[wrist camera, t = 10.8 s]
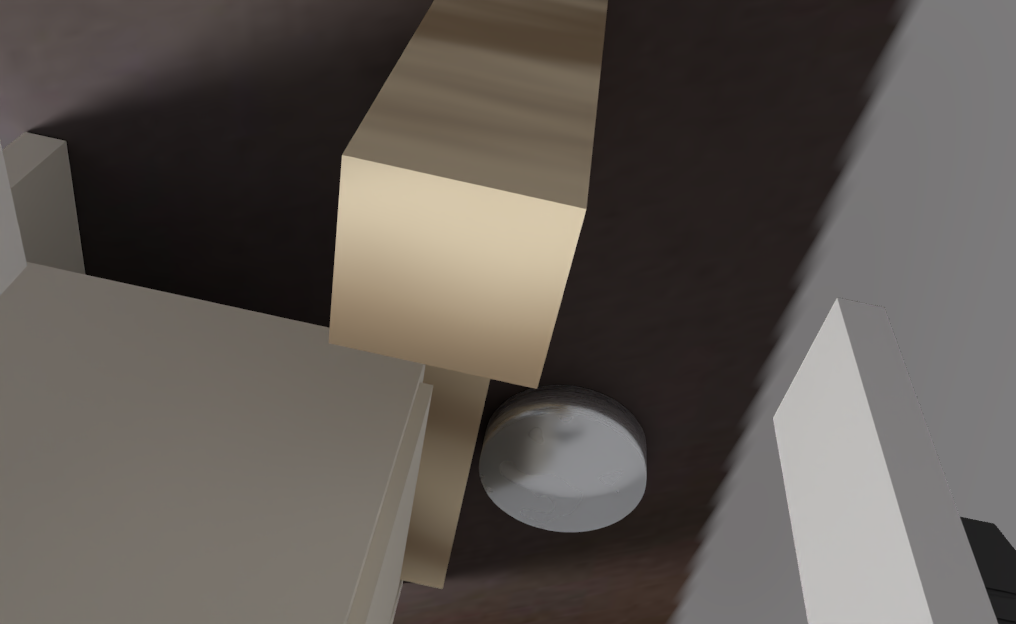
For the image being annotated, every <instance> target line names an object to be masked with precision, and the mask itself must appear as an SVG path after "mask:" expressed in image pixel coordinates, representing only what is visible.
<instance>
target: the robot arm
mask: <svg viewBox="0 0 1016 624" xmlns="http://www.w3.org/2000/svg"><path fill="white" fill-rule="evenodd" d="M26 267H27V262H26V258H25V253H24V248H23V244H22V239H21V234H20V230H19V225H18V221H17V216H16V211H15V207H14V202H13V198H12V193H11V188H10V184H9V179H8V175H7V170H6V165H5V161H4V156H3V151H2V147H1V142H0V295H1V294H2V293H3V292H4V291H5V290H6V289H7V288H8V286H9V285H10V284H11V283H12V282H13V281H14V280H15V279H16V278H17V277H18V275H19V274H20V273H21V272H22V271H23V270H24V269H25V268H26ZM773 422H774V428H775V434H776V439H777V445H778V451H779V457H780V463H781V468H782V474H783V480H784V485H785V492H786V497H787V503H788V508H789V514H790V520H791V526H792V532H793V537H794V543H795V549H796V555H797V561H798V567H799V572H800V578H801V584H802V590H803V595H804V601H805V607H806V613H807V619H808V624H1016V550H1015V549H1014V548H1013V547H1012V546H1011V544H1010V543H1009V542H1008V540H1007V539H1006V538H1005V537H1004V535H1003V534H1002V533H1001V532H1000V530H999V529H998V528H997V526H996V525H995V524H993V523H988V522H982V521H978V520H973V519H968V518H963V517H960V516H959V513H958V510H957V507H956V505H955V502H954V499H953V496H952V493H951V491H950V488H949V485H948V482H947V480H946V477H945V474H944V471H943V468H942V466H941V463H940V460H939V457H938V454H937V452H936V449H935V446H934V443H933V441H932V438H931V435H930V432H929V429H928V426H927V424H926V421H925V418H924V416H923V413H922V410H921V407H920V405H919V402H918V399H917V396H916V393H915V390H914V387H913V385H912V382H911V379H910V376H909V373H908V371H907V368H906V365H905V362H904V359H903V357H902V354H901V351H900V348H899V345H898V343H897V340H896V337H895V334H894V332H893V329H892V326H891V323H890V321H889V318H888V315H887V312H886V309H885V307H881V306H876V305H872V304H867V303H862V302H857V301H852V300H848V299H843V298H838V297H837V298H836V301H835V302H834V304H833V306H832V308H831V310H830V312H829V314H828V315H827V317H826V319H825V321H824V323H823V325H822V326H821V328H820V330H819V332H818V334H817V336H816V338H815V340H814V342H813V343H812V345H811V347H810V349H809V351H808V353H807V355H806V357H805V359H804V361H803V362H802V364H801V366H800V368H799V370H798V372H797V374H796V376H795V377H794V379H793V381H792V383H791V385H790V387H789V389H788V390H787V392H786V394H785V396H784V398H783V400H782V402H781V404H780V406H779V407H778V409H777V411H776V413H775V415H774V417H773Z"/></svg>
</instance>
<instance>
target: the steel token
mask: <svg viewBox="0 0 1016 624" xmlns="http://www.w3.org/2000/svg"><path fill="white" fill-rule="evenodd" d="M479 475H480V479H481V483H482V485H483V487H484V489H485V491H486V493H487V494H488V496H489V497H490V498H491V500H492V501H493V502H494V503H495V504H496V505H497V506H498V507H499V508H500V509H502V510H503V511H504V512H506V513H507V514H508V515H510V516H512V517H513V518H515V519H517V520H519V521H521V522H523V523H526V524H528V525H531V526H534V527H537V528H541V529H545V530H550V531H556V532H584V531H591V530H596V529H600V528H603V527H606V526H609V525H611V524H614V523H616V522H618V521H619V520H621V519H623V518H624V517H625V516H627V515H628V514H629V513H631V512H632V511H633V510H634V509H635V508H636V506H637V505H638V504H639V502H640V501H641V499H642V497H643V495H644V492H645V488H646V480H647V446H646V438H645V435H644V431H643V429H642V427H641V425H640V423H639V422H638V421H637V419H636V418H635V416H634V415H633V414H632V413H631V412H630V411H629V410H628V409H627V408H626V407H624V406H623V405H622V404H621V403H619V402H617V401H616V400H614V399H613V398H611V397H609V396H607V395H605V394H603V393H600V392H597V391H594V390H591V389H588V388H584V387H578V386H572V385H547V386H540V387H538V388H537V389H535V388H532V389H528V390H525V391H523V392H520V393H518V394H516V395H514V396H512V397H510V398H509V399H507V400H506V401H505V402H503V403H502V404H501V405H500V406H499V407H498V408H497V409H496V410H495V412H494V413H493V414H492V416H491V418H490V420H489V422H488V424H487V428H486V432H485V436H484V441H483V446H482V451H481V456H480V461H479Z"/></svg>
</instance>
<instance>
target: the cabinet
mask: <svg viewBox="0 0 1016 624" xmlns="http://www.w3.org/2000/svg"><path fill="white" fill-rule="evenodd" d="M2 151H3V156H4V161H5V165H6V170H7V175H8V179H9V184H10V188H11V193H12V198H13V202H14V207H15V211H16V216H17V221H18V225H19V230H20V234H21V239H22V244H23V248H24V253H25V258H26V262H27V267H26V268H25V269H24V270H23V271H22V272H21V273H20V274H19V275H18V277H17V278H16V279H15V280H14V281H13V282H12V283H11V284H10V285H9V286H8V288H7V289H6V290H5V291H4V292H3V293H2V294H1V295H0V624H392V623H393V620H394V616H395V612H396V608H397V604H398V600H399V596H400V592H401V588H402V585H403V580H400V576H401V570H402V564H403V559H404V553H405V547H406V541H407V535H408V530H409V524H410V518H411V512H412V506H413V500H414V495H415V489H416V483H417V477H418V471H419V466H420V460H421V454H422V448H423V442H424V436H425V431H426V425H427V419H428V413H429V407H430V401H431V396H432V390H433V385H430V384H426V383H423V378H424V371H425V364H421V363H416V362H412V361H407V360H402V359H398V358H393V357H389V356H384V355H380V354H375V353H371V352H366V351H362V350H357V349H352V348H348V347H343V346H339V345H334V344H330V343H329V329H330V328H328V327H324V326H319V325H314V324H310V323H305V322H301V321H296V320H291V319H287V318H282V317H278V316H273V315H268V314H264V313H259V312H255V311H250V310H245V309H241V308H236V307H232V306H227V305H222V304H218V303H213V302H209V301H204V300H200V299H195V298H190V297H186V296H181V295H177V294H172V293H167V292H163V291H158V290H154V289H149V288H144V287H140V286H135V285H131V284H126V283H121V282H117V281H112V280H108V279H103V278H98V277H94V276H89V275H85V268H84V261H83V254H82V247H81V240H80V233H79V226H78V219H77V212H76V205H75V198H74V191H73V184H72V177H71V170H70V163H69V157H68V150H67V143H66V141H64V140H60V139H55V138H51V137H46V136H41V135H37V134H32V133H28V132H24V133H23V134H22V135H21V136H19V137H18V138H17V139H16V140H14V141H13V142H12V143H10V144H9V145H8V146H7V147H5V148H4V149H3V150H2Z"/></svg>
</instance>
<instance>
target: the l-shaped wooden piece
mask: <svg viewBox="0 0 1016 624" xmlns="http://www.w3.org/2000/svg"><path fill="white" fill-rule="evenodd" d="M607 6H608V0H434V1H433V3H432V5H431V6H430V8H429V10H428V11H427V13H426V15H425V16H424V18H423V20H422V21H421V23H420V25H419V26H418V28H417V30H416V31H415V33H414V35H413V36H412V38H411V40H410V41H409V43H408V45H407V47H406V48H405V50H404V52H403V53H402V55H401V57H400V58H399V60H398V62H397V63H396V65H395V67H394V68H393V70H392V72H391V73H390V75H389V77H388V78H387V80H386V82H385V83H384V85H383V87H382V89H381V90H380V92H379V94H378V95H377V97H376V99H375V100H374V102H373V104H372V105H371V107H370V109H369V110H368V112H367V114H366V115H365V117H364V119H363V120H362V122H361V124H360V125H359V127H358V129H357V131H356V132H355V134H354V136H353V137H352V139H351V141H350V142H349V144H348V146H347V147H346V149H345V151H344V152H343V154H342V162H341V176H340V190H339V204H338V218H337V232H336V246H335V259H334V273H333V287H332V301H331V315H330V329H329V343H330V344H334V345H339V346H343V347H348V348H352V349H357V350H362V351H366V352H371V353H375V354H380V355H384V356H389V357H393V358H398V359H402V360H407V361H412V362H416V363H421V364H425V371H424V378H423V383H426V384H430V385H433V390H432V396H431V401H430V407H429V413H428V419H427V425H426V431H425V436H424V442H423V448H422V454H421V460H420V466H419V471H418V477H417V483H416V489H415V495H414V500H413V506H412V512H411V518H410V524H409V530H408V535H407V541H406V547H405V553H404V559H403V564H402V570H401V576H400V580H403V581H408V582H412V583H417V584H422V585H426V586H431V587H435V588H440V589H443V584H444V580H445V576H446V571H447V567H448V562H449V558H450V554H451V549H452V545H453V540H454V536H455V532H456V527H457V523H458V518H459V514H460V510H461V505H462V501H463V496H464V492H465V488H466V483H467V479H468V474H469V470H470V466H471V461H472V457H473V452H474V448H475V444H476V439H477V435H478V430H479V426H480V422H481V417H482V413H483V408H484V404H485V400H486V395H487V391H488V386H489V382H490V379H494V380H498V381H503V382H507V383H512V384H516V385H521V386H525V387H530V388H535V389H537V388H538V384H539V380H540V377H541V373H542V369H543V366H544V362H545V359H546V355H547V351H548V348H549V344H550V340H551V337H552V333H553V329H554V326H555V322H556V318H557V315H558V311H559V307H560V304H561V300H562V297H563V293H564V289H565V286H566V282H567V278H568V275H569V271H570V267H571V264H572V260H573V256H574V253H575V249H576V245H577V242H578V238H579V235H580V231H581V227H582V224H583V220H584V216H585V213H586V209H587V199H588V189H589V180H590V170H591V160H592V151H593V141H594V131H595V122H596V112H597V102H598V93H599V83H600V73H601V64H602V54H603V44H604V35H605V25H606V15H607Z"/></svg>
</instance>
